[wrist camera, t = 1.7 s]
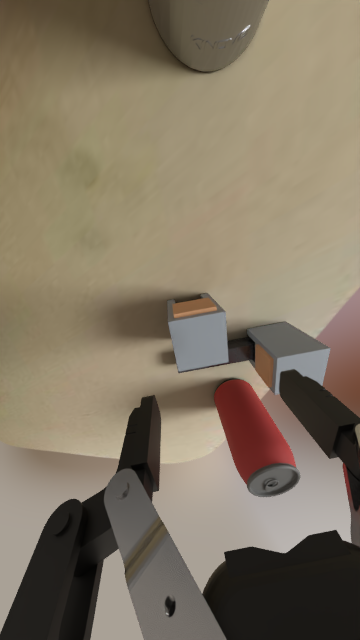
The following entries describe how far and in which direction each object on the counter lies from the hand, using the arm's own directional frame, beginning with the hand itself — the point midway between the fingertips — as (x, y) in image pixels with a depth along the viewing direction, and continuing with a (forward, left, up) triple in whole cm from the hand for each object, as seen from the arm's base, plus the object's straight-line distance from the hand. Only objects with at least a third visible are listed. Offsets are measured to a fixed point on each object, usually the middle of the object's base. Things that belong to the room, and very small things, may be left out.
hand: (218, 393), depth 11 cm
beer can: (+15, +5, -13) cm, 20 cm away
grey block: (0, 0, -13) cm, 13 cm away
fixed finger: (+6, +11, -13) cm, 18 cm away
